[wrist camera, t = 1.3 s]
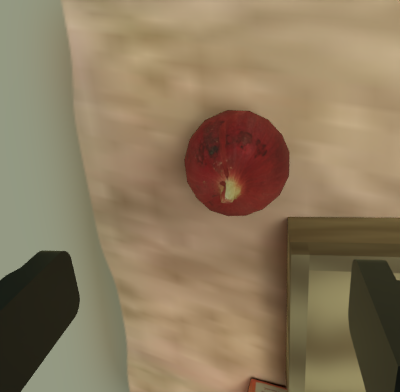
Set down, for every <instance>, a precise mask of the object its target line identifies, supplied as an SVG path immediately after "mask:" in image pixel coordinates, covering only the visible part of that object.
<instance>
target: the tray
mask: <svg viewBox="0 0 400 392" xmlns="http://www.w3.org/2000/svg"><path fill="white" fill-rule="evenodd" d="M354 259H369V260H386V261H387V263H388V265H389V266H390V268H391V270H392V272H393V274H394V276H395V278H396V280H400V218H325V217H288V244H287V330H286V385H287V392H366V390H365V386H364V382H363V379H362V375H361V371H360V368H359V364H358V360H357V357H356V353H355V349H354V346H353V342H352V338H351V335H350V330H349V321H348V307H349V294H350V282H351V270H352V263H353V260H354Z"/></svg>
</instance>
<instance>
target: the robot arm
mask: <svg viewBox="0 0 400 392" xmlns="http://www.w3.org/2000/svg"><path fill="white" fill-rule="evenodd" d="M79 302H80V298H79V291H78V287H77V282H76V278H75V274H74V269H73V265H72V261H71V257H70V255H69V254H68V253H67V252H66V251H40V252H38V253H37V254H36V255H35V256H34V257H32V258H31V259H30V260H29V261H28V262H27V263H25V265H23V266H22V267H21V268H19V269H17V270H16V271H14V272H12V273H10V274H8V275H6V276H5V277H4V278H3V279H1V280H0V392H21V390H22V389H23V388H24V386H25V385H26V384H27V382H28V381H29V379H30V378H31V377H32V375H33V374H34V373H35V371H36V370H37V368H38V367H39V366H40V364H41V363H42V362H43V360H44V359H45V357H46V356H47V355H48V353H49V352H50V350H51V349H52V348H53V346H54V345H55V344H56V342H57V341H58V339H59V338H60V337H61V335H62V334H63V333H64V331H65V330H66V328H67V327H68V326H69V324H70V323H71V321H72V320H73V319H74V318H75V316H76V314H77V312H78V308H79ZM348 321H349V330H350V335H351V338H352V342H353V346H354V349H355V353H356V357H357V360H358V364H359V368H360V371H361V375H362V379H363V382H364V386H365V390H366V392H400V280H396V278H395V276H394V274H393V272H392V270H391V268H390V266H389V265H388V263H387V261H386V260H369V259H354V260H353V263H352V270H351V282H350V294H349V307H348Z"/></svg>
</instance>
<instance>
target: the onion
mask: <svg viewBox="0 0 400 392" xmlns="http://www.w3.org/2000/svg"><path fill="white" fill-rule="evenodd" d="M185 168H186V175H187V182H188V184H189V186H190V187H191V189H192V191H193V192H194V194H195V196H196V198H197V199H199V200H200V201H201V202H202V203H203V204H204V205H205V206H206V207H207V208H208V209H209V210H211V211H214V212H217V213H220V214H223V215H227V216H244V215H248V214H251V213H253V212H256V211H259V210H262V209H263V208H265V207H266V206H267V205H268V204H270V203H271V202H272V201H273V200H274V199H275V198H276V197H278V196H279V195H280V193H281V191H282V189H283V187H284V185H285V183H286V181H287V179H288V177H289V150H288V148H287V146H286V143H285V141H284V139H283V136H282V134H281V133H280V132H279V131H278V130H277V129H276V128H275V127H274V126H273V125H272V124H271V122H270V121H269V120H267V119H265V118H263V117H261V116H259V115H257V114H254V113H252V112H250V111H233V110H228V111H224V112H222V113H220V114H218V115H216V116H213V117H211V118H209V119H207V120H205V121H204V122H203V123H202V124H201V126H200V127H199V128H198V129H197V130H196V132H195V133H194V134H193V135H192V137H191V139H190V141H189V144H188V148H187V152H186V156H185Z"/></svg>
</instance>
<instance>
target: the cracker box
mask: <svg viewBox="0 0 400 392" xmlns="http://www.w3.org/2000/svg"><path fill="white" fill-rule="evenodd" d="M248 392H287V388H284V387H280V386H277V385H273V384H270V383H266V382H263V381H259V380H256V379H251V382H250V386H249V389H248Z"/></svg>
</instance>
